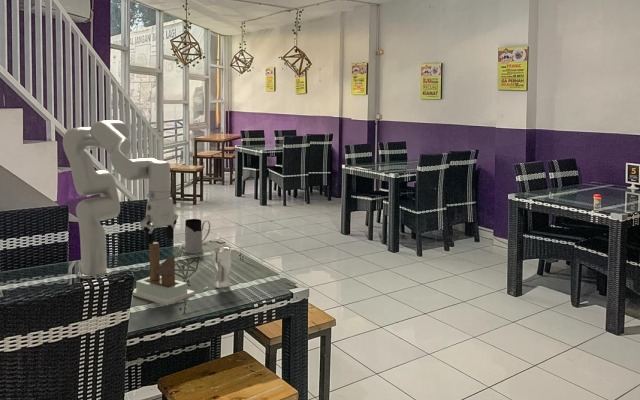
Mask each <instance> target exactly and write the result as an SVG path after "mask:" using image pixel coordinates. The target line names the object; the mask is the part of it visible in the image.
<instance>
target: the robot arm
mask: <svg viewBox="0 0 640 400" xmlns="http://www.w3.org/2000/svg"><path fill="white" fill-rule="evenodd" d="M129 136H130V130H129V128H128V126H127V124H126V123H124V122H123V121H121V120H99V121H96V122H94V123H93V124H92V125H90V126H81V127H80V126H79V127H73V128H70V129H68V130H67V131H65V133H64V135H63V137H62V146H63V151H64V153H65V156H66V157H67V160H68V162H69V166H70V172H71V175H72V176H71V177H72V180H73V185H74V189H75V192H76V193H77V194H78V195H79V196H82V197H84V196H85V197H86V196H94V195H100V196H98V197H92V198H87V199H83V200H81V201H79V202H78V203H77V205H76V207H75V215H76V218H77V222H78V227H79V240H80V242H79V243H80V263H78V264H77V267H78V268H80V271H78V272H77V277H78V278H79V279H82V280H83V279H84V280H92V279H91V278H95V277H82V276H79V275H80V273H81V275H82V274H84V275H96V274H102V273H105V272H107V273H109V272H110V273H109V274H107V275H108V276H110V275H111V273H112V270H111V269H110V268H108V266H107V265H108V262H107V243H106V242H107V241H106V240H107V239H106V230H105V229H104V227H103V225H102V224H101V222H102V221H106V220H111V219H115V218H117V217H118V216H119V215H120V213H121V201H120V198H119V193H118V189H117V187H118V186H117V182H116V179H115V177H114V176H113V174H112V173H111V172H110V171H107V170H103V169H102V170H96V169H95V166H94V162H93V159H92V157H91V156H90V154H89V153H87V152H86V151H85V150H86V149H102V148H103V149H104V150H105V151H106V152H107V153H109V154H110V162H111V166H112V168H113V170H114V171H115V172H116V173H117V174H119V175H120V176H121V177H123V178H124V179H125V180H127V181H131V182H132V181H138V180H148V193H147V194H146V197H147V198H148V199H147V202H146V209H145V217H144V218H143V219H142V220H140V221H139V225H140V227H141V230H142V231H143V232H144V233H145V243H146V244H148V245H149V244H153V242H154V232H153V231H154V229H157V228H162V227H165V237H166V238H167V239H170V240H173V239H174V228H175V226H176V224H177V223H178V222H177V220H178V218H179V215H178V214H177V213H175V208H174V202H173V198H172V197H171V164H170V163H169V161H166V160H158V159H156V158H154V157H147V158H135V159H134V158H133V159H130V158H129V157H127V155H128V153H129V152H130V150H131V146H132V145H131V141H130V139H128V138H129ZM78 274H79V275H78ZM103 275H104V274H103Z"/></svg>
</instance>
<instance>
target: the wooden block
mask: <svg viewBox="0 0 640 400" xmlns="http://www.w3.org/2000/svg"><path fill="white" fill-rule="evenodd" d="M148 251H149V256H148V257H149V277H150V280H148V282H149V283H153V284H156V285H160V286H163V287H167V288H169V287H172V286H174V285H175V280H176V275H175V274H176V271H175V270H176V268H175V267H176V264H175V263H176V262H175V261H176V260H175V258H176V257H175V255H173V256H170V257H169V256H168V257H167V258H165V260H164V261H163V262H162V263H161V262H160V242H157V241H153V244H148ZM160 263H161V265H160ZM160 276H161V279H162V280H160Z"/></svg>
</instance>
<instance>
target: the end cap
mask: <svg viewBox="0 0 640 400" xmlns="http://www.w3.org/2000/svg"><path fill="white" fill-rule="evenodd" d="M148 280H150V276H148V277H145V278H142V279H138V280H135V288H133V289H134V291H133V295H132V296H135V297H138V298H141V299H144V300H148V301H151V302H153V303H157V304H160V305H164V306H169V305H172V304H174V303H176V302H178V301H181V300H184V299H186V298H187V299H188V298H189V297H192V296H194V295H196V291H195V290H191V289H188V282H186V281H185V282H184V281H182V280H181V281H180V280H177V279H175V285H174V286H172V287H169V288H167V287H163V286H160V285H156V284H153V283H149V282H148ZM160 280H162V279H161V275H160Z"/></svg>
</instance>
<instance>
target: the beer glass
mask: <svg viewBox="0 0 640 400" xmlns="http://www.w3.org/2000/svg"><path fill="white" fill-rule="evenodd" d="M231 250H232V249H231V248H230V247H227V246H226V247H224V246H219V247H215V248H213V251H212V252H213V253H212V264H213V269H214V270H213V271H214V277H215V278H214V285H213V287H215V288H216V289H228V288H230V285H231V284H230V271H231V265H232V254H231V253H232V251H231Z"/></svg>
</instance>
